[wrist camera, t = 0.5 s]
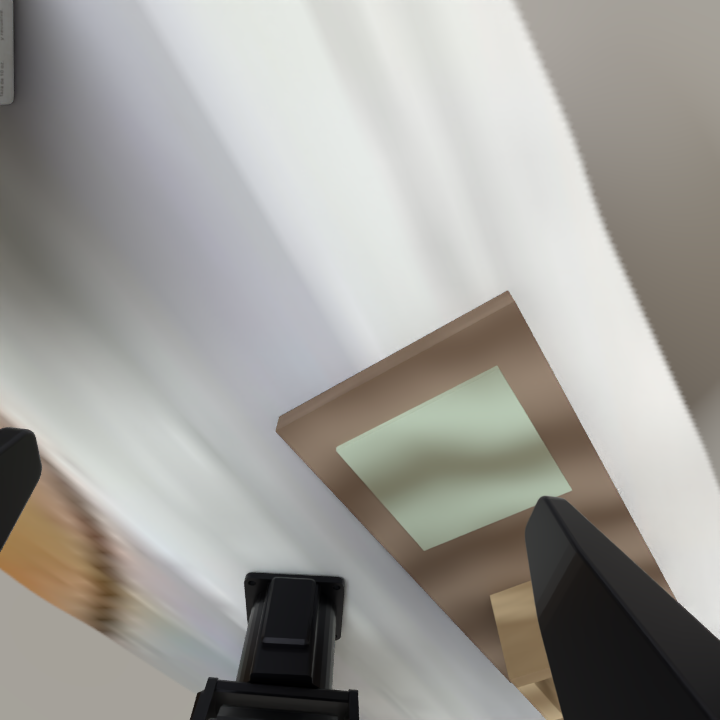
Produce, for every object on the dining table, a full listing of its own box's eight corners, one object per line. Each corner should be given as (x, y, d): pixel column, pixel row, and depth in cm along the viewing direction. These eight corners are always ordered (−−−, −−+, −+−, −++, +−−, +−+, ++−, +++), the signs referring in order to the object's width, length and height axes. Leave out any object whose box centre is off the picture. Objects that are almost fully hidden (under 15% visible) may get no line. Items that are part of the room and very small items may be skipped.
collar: (624, 614, 32) (664, 699, 28) (531, 645, 34) (555, 728, 29) (589, 559, 29) (627, 643, 25) (489, 595, 31) (509, 679, 27)
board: (681, 611, 34) (744, 718, 28) (506, 665, 37) (531, 770, 32) (507, 290, 22) (555, 365, 16) (279, 416, 26) (254, 512, 20)
